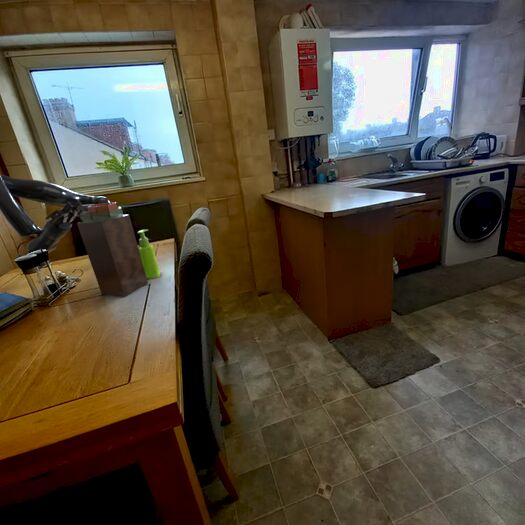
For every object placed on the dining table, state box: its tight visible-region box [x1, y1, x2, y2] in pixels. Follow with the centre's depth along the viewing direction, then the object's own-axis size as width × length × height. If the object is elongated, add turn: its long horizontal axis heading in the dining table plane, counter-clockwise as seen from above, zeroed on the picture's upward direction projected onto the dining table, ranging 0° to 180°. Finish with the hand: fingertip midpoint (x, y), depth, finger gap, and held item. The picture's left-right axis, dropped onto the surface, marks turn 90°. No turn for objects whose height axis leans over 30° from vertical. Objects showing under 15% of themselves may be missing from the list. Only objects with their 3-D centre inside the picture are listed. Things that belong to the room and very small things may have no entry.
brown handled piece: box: [71, 201, 119, 215], centre depth 100 cm, size 9×22×4 cm, turn 69°
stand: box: [76, 206, 149, 298], centre depth 104 cm, size 13×13×31 cm
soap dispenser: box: [137, 228, 161, 280], centre depth 116 cm, size 6×7×20 cm
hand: (75, 203), depth 102 cm, fingers open, 3 cm apart
